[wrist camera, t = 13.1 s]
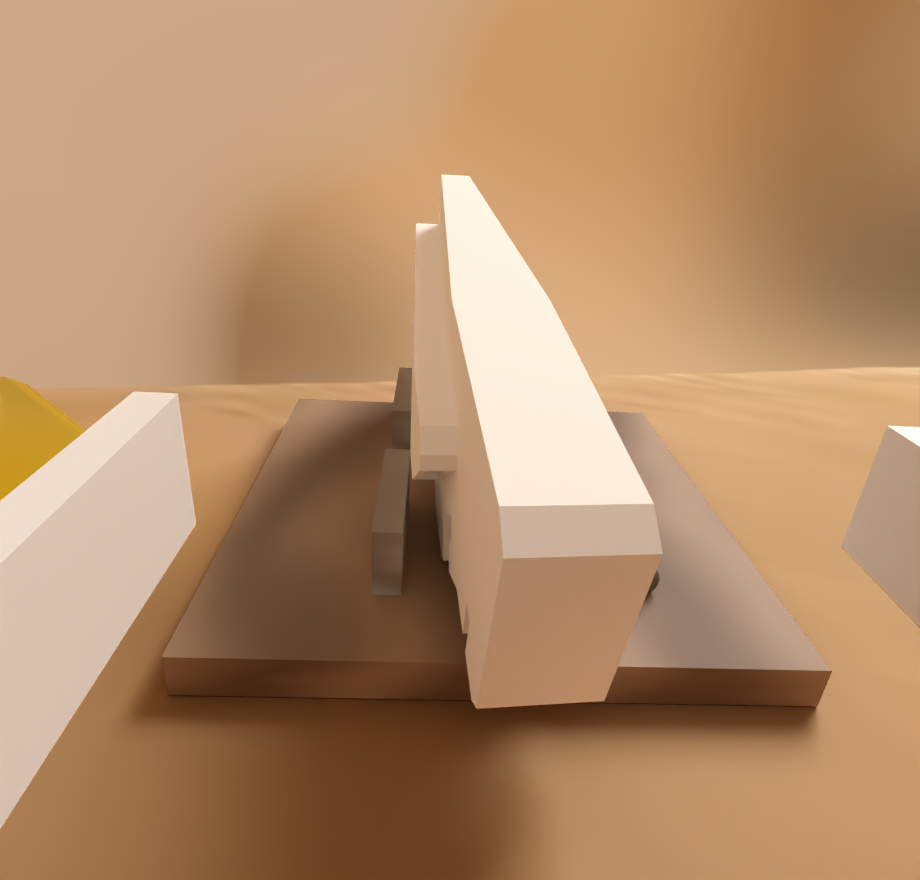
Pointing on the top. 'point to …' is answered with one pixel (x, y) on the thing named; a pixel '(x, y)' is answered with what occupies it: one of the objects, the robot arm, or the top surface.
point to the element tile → (29, 433)
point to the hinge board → (434, 593)
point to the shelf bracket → (521, 470)
